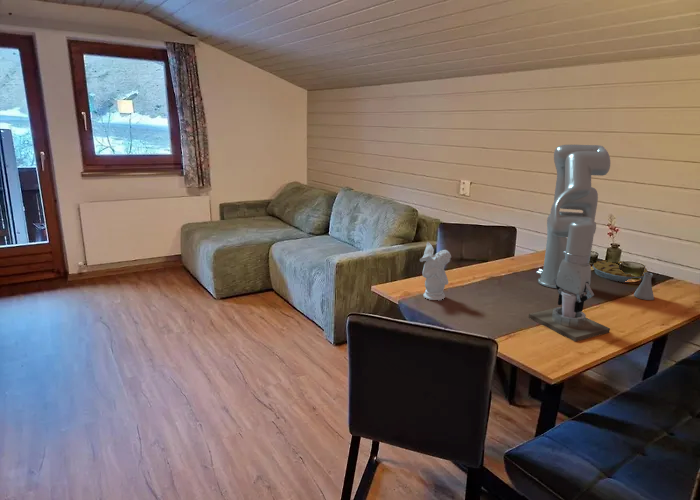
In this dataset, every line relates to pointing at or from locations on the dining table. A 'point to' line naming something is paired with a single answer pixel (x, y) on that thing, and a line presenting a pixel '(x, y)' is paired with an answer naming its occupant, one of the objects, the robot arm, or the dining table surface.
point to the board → (572, 333)
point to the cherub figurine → (435, 272)
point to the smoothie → (568, 303)
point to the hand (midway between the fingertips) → (569, 307)
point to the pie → (613, 271)
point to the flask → (645, 288)
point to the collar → (568, 318)
